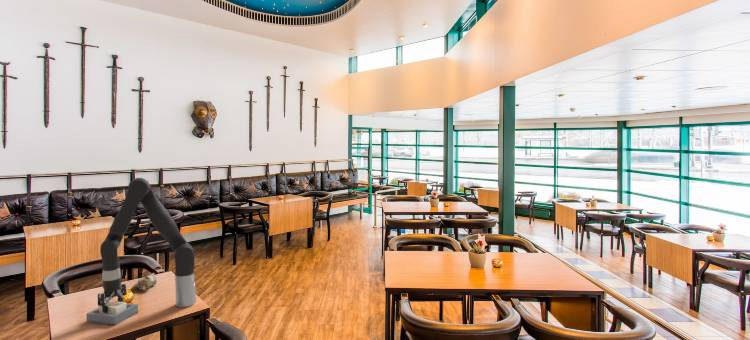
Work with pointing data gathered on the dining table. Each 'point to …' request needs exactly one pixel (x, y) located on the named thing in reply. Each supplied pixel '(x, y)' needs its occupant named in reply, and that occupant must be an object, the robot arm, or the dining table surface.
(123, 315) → the tray
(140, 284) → the ceramic sculpture
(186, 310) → the dining table surface
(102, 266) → the robot arm
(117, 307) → the cream crate
